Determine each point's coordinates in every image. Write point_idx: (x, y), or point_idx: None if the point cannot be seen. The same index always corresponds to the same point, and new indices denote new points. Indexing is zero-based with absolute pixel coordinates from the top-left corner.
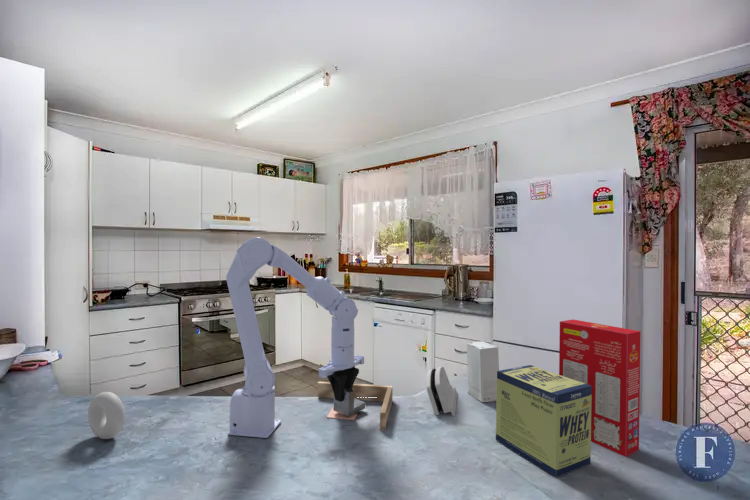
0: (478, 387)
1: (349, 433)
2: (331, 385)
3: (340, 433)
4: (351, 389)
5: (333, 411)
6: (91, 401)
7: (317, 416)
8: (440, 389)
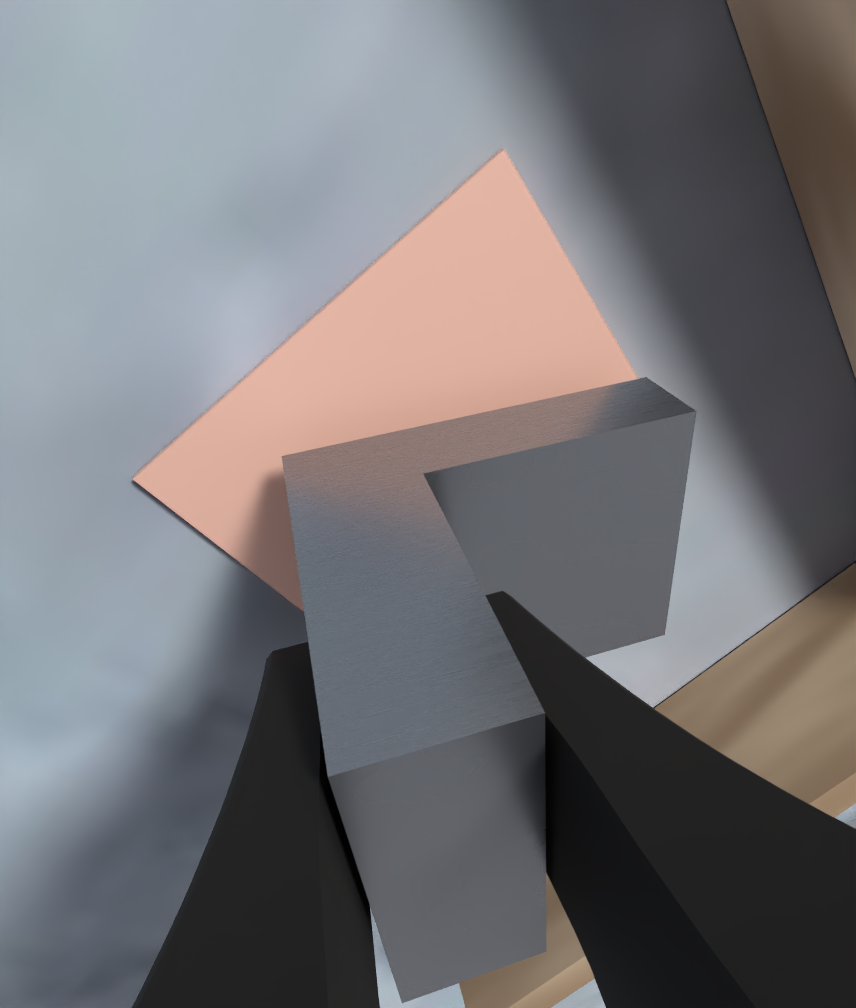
0: None
1: (182, 840)
2: (160, 959)
3: (102, 817)
4: (542, 916)
5: (318, 383)
6: None
7: (21, 347)
8: None
